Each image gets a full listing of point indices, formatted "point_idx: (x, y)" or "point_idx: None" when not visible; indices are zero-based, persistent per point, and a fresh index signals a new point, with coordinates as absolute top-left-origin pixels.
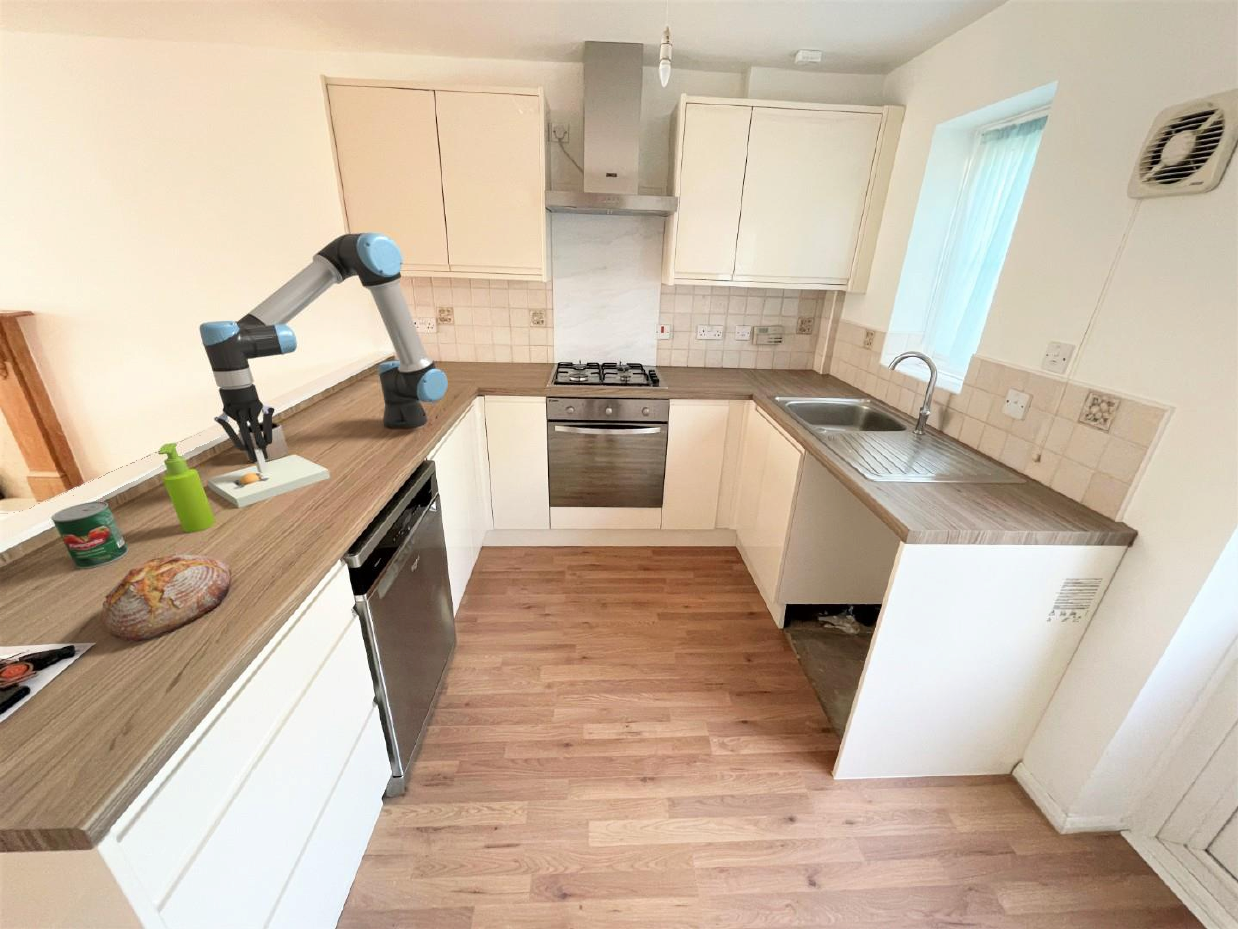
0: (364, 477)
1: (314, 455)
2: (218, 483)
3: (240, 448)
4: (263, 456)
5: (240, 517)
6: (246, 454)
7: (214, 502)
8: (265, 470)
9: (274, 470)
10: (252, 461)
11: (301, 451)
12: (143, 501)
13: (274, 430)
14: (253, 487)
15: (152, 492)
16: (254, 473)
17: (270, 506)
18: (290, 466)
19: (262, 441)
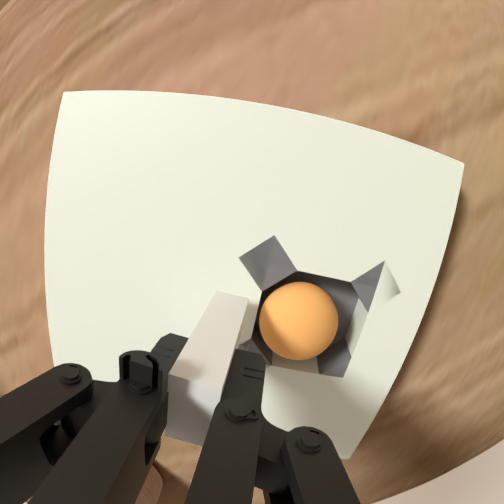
0: (60, 13)
1: (28, 354)
2: (370, 400)
3: (331, 452)
4: (190, 339)
5: (473, 91)
6: (157, 497)
7: (434, 311)
8: (226, 298)
9: (169, 322)
10: (264, 360)
11: None
12: (441, 463)
13: None
14: (358, 213)
15: (395, 492)
16: None
17: (380, 56)
18: (108, 295)
19: (111, 414)
